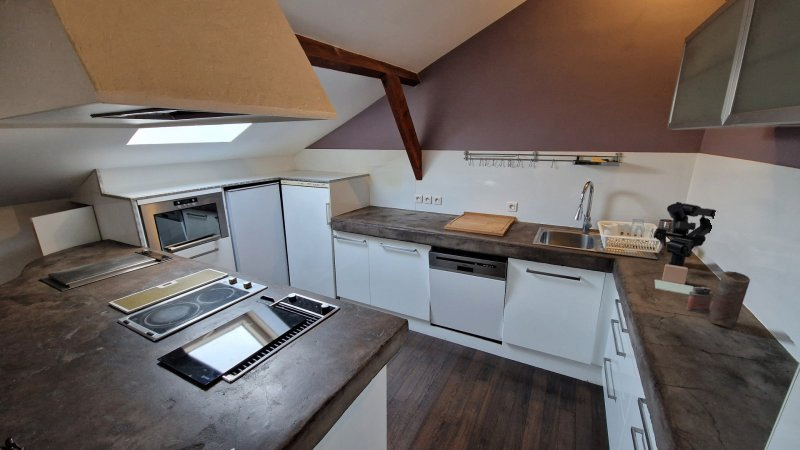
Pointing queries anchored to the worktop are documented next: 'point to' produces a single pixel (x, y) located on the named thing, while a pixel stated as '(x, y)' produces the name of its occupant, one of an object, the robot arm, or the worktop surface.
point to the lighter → (699, 299)
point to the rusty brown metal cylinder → (729, 299)
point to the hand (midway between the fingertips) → (676, 250)
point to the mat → (673, 287)
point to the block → (675, 274)
